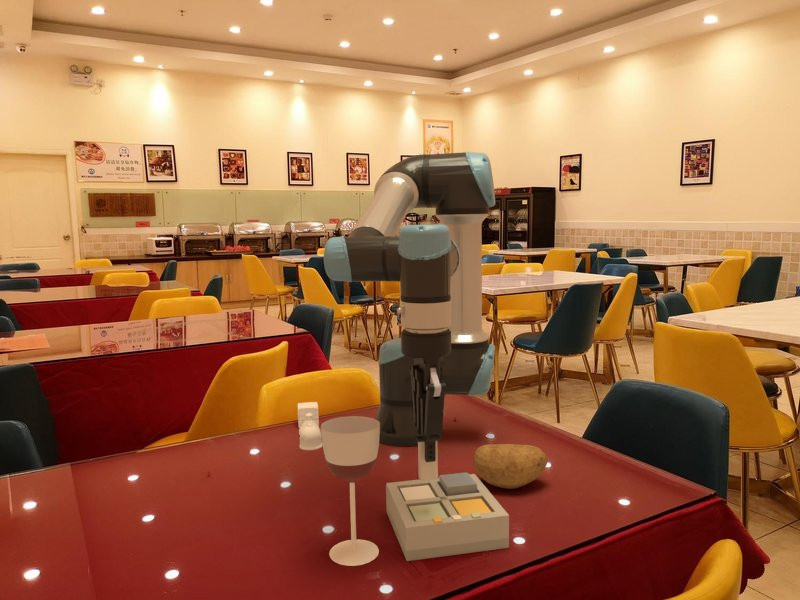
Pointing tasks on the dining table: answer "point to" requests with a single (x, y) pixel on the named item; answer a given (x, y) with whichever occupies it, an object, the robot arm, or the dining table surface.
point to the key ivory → (416, 493)
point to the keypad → (446, 523)
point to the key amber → (470, 507)
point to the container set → (309, 426)
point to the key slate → (457, 484)
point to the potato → (509, 464)
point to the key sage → (427, 512)
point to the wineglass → (351, 474)
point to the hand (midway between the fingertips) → (428, 478)
